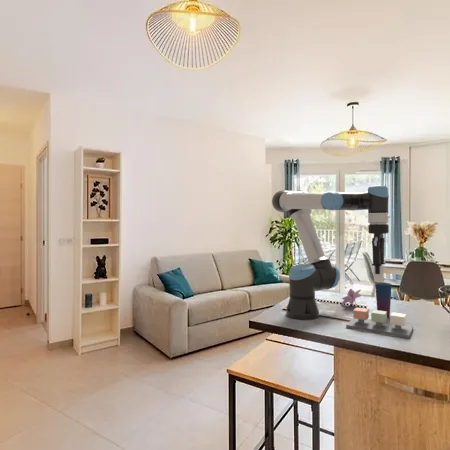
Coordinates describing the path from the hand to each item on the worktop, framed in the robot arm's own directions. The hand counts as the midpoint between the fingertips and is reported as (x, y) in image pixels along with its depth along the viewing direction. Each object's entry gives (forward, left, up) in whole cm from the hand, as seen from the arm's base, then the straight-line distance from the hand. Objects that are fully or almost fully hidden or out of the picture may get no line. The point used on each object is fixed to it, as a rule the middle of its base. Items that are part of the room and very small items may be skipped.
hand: (378, 280), depth 134 cm
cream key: (+7, 0, -16) cm, 18 cm away
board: (0, 0, -20) cm, 20 cm away
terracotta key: (-7, 0, -16) cm, 18 cm away
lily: (-18, +29, -20) cm, 39 cm away
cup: (-1, +19, -20) cm, 27 cm away
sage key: (0, 0, -16) cm, 16 cm away
